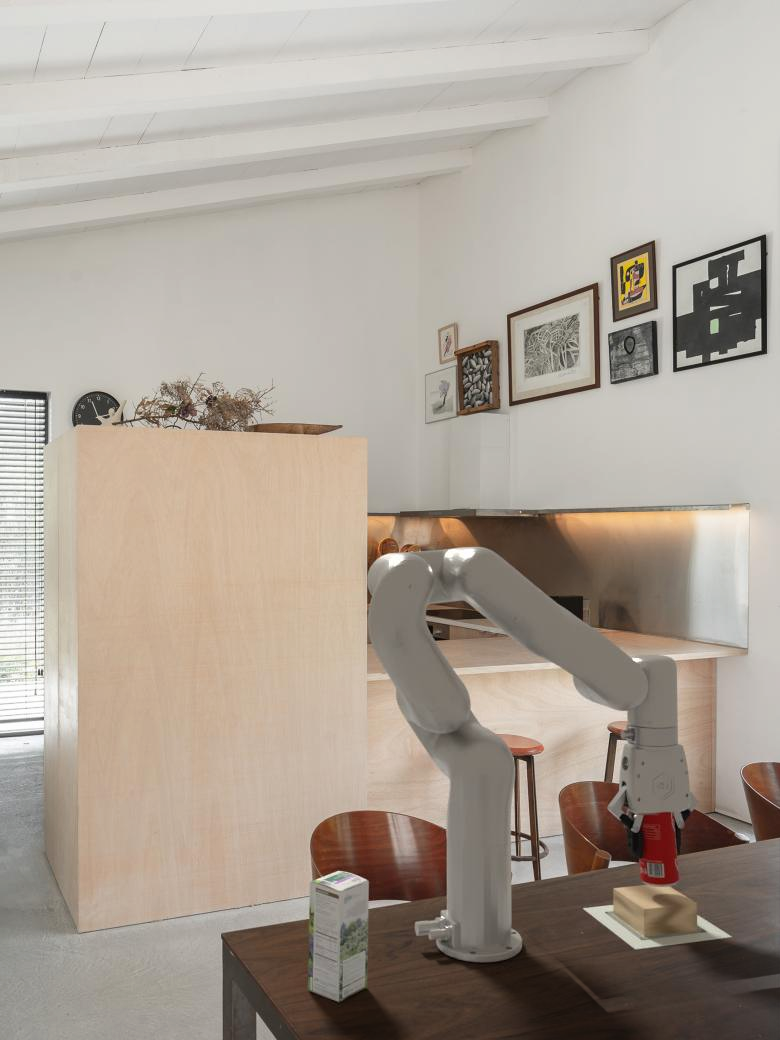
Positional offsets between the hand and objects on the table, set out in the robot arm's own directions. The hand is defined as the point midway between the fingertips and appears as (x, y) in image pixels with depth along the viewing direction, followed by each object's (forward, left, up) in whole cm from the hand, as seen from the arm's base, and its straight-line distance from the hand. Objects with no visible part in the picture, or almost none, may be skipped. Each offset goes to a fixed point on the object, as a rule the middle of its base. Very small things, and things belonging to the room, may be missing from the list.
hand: (654, 853), depth 144 cm
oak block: (0, 0, -10) cm, 10 cm away
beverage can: (0, 0, -5) cm, 5 cm away
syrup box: (-51, -6, -12) cm, 53 cm away
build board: (0, 0, -12) cm, 12 cm away
